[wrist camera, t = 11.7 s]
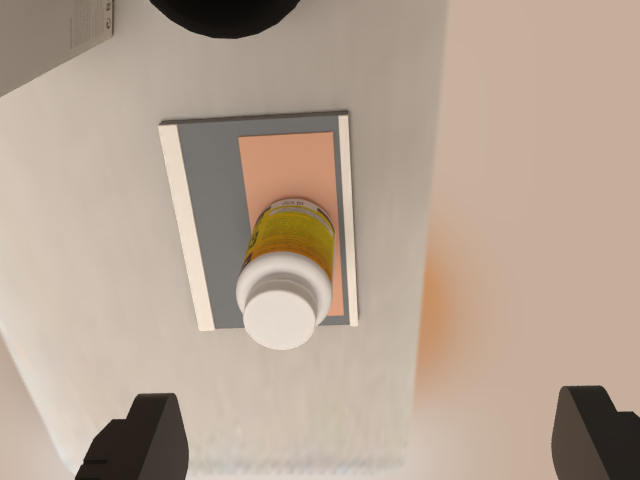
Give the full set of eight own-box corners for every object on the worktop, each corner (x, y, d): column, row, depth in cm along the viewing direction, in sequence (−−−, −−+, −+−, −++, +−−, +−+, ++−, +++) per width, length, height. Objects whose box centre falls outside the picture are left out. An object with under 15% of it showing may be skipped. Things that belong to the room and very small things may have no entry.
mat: (202, 322, 46) (199, 330, 46) (161, 121, 39) (157, 126, 38) (357, 317, 46) (358, 325, 45) (348, 111, 38) (348, 115, 37)
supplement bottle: (254, 192, 40) (226, 273, 31) (338, 197, 40) (334, 281, 31) (254, 264, 43) (228, 358, 34) (333, 269, 42) (328, 365, 34)
